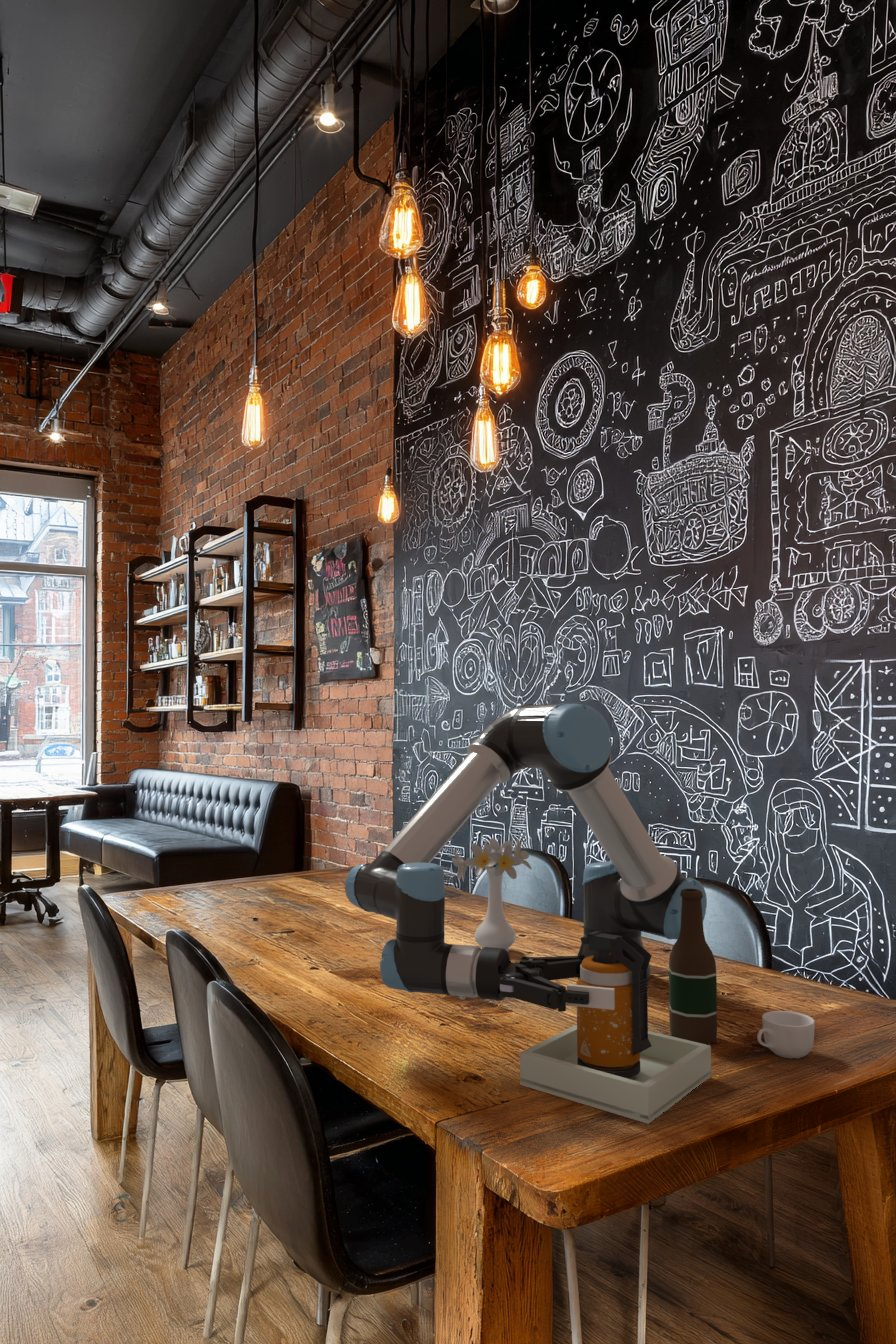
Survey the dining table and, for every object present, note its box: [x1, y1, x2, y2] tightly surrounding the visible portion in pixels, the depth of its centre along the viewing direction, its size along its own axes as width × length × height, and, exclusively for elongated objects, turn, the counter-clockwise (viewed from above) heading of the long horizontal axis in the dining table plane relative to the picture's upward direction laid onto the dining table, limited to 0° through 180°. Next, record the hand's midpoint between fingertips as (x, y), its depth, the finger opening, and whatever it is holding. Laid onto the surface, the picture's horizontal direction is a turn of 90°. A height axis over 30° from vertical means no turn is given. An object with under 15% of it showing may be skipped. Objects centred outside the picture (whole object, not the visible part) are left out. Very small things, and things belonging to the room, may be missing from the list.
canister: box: [576, 931, 652, 1078], centre depth 132 cm, size 9×11×20 cm
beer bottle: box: [668, 889, 718, 1045], centre depth 150 cm, size 8×8×24 cm
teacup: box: [756, 1010, 816, 1059], centre depth 142 cm, size 10×8×5 cm
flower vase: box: [451, 837, 533, 953], centre depth 205 cm, size 13×18×25 cm
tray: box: [519, 1024, 712, 1125], centre depth 132 cm, size 20×20×4 cm
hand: (621, 985), depth 132 cm, fingers open, 13 cm apart
